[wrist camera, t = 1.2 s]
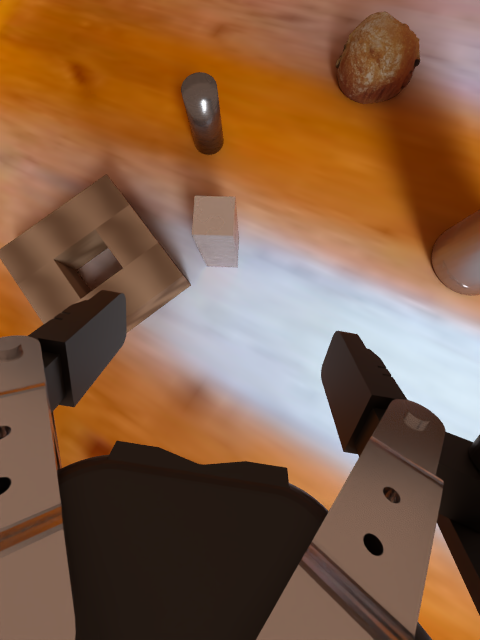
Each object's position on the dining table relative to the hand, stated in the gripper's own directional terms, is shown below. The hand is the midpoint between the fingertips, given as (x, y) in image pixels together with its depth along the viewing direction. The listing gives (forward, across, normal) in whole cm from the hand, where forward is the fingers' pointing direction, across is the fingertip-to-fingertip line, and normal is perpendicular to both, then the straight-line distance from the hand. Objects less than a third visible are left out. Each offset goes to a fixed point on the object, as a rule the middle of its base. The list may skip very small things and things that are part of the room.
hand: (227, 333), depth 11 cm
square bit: (+28, +3, +4) cm, 29 cm away
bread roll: (+43, -14, -20) cm, 50 cm away
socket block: (+26, +17, +10) cm, 33 cm away
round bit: (+37, +7, -8) cm, 39 cm away
